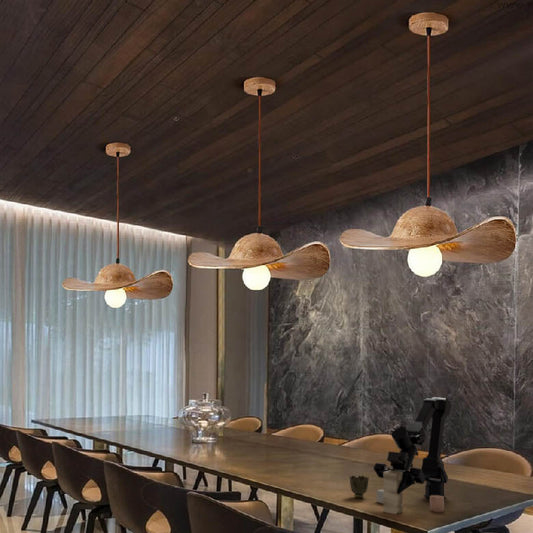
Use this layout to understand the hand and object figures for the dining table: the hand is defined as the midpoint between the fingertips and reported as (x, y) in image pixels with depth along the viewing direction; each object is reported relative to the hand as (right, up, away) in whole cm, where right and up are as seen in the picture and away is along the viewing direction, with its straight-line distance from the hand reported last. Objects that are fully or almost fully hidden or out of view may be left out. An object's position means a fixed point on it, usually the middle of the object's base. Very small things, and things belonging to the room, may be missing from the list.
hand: (391, 492), depth 256 cm
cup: (-8, -10, +23) cm, 27 cm away
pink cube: (+17, -8, +4) cm, 20 cm away
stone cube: (+1, -9, +16) cm, 18 cm away
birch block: (+1, -7, 0) cm, 7 cm away
